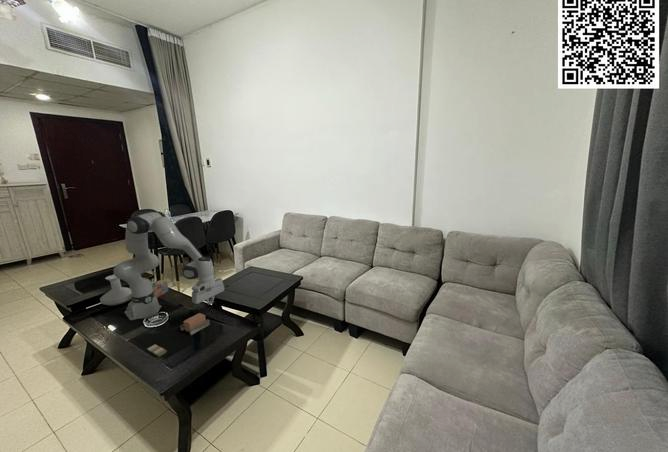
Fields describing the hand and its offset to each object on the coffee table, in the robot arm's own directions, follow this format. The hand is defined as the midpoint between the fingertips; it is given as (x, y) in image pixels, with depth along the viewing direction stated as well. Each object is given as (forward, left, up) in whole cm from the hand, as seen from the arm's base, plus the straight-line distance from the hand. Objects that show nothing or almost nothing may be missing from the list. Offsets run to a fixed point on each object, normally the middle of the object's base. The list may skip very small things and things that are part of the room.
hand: (210, 303), depth 164 cm
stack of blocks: (-68, 0, -12) cm, 69 cm away
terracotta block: (0, -11, -10) cm, 15 cm away
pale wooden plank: (0, -19, -11) cm, 22 cm away
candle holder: (-84, -15, -12) cm, 87 cm away
